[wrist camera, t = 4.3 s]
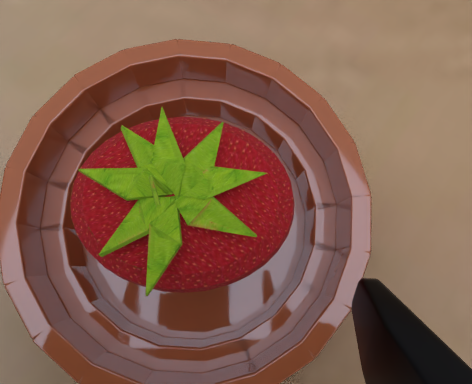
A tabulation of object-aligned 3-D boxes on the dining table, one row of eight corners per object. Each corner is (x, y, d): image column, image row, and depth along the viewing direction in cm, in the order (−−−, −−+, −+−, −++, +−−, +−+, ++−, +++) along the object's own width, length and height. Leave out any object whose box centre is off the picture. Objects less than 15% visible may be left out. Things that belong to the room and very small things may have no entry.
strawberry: (275, 283, 19) (341, 303, 9) (111, 287, 18) (-12, 311, 8) (271, 160, 20) (326, 54, 10) (115, 161, 19) (12, 52, 9)
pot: (391, 269, 20) (444, 269, 15) (140, 440, 18) (114, 499, 13) (239, 43, 21) (246, -16, 17) (-3, 176, 19) (-69, 149, 15)
